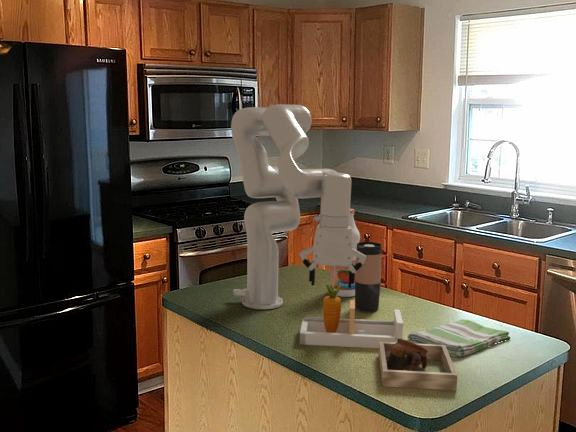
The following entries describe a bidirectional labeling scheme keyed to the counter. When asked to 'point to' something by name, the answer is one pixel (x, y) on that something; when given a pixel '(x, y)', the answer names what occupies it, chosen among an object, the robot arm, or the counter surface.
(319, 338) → the frame
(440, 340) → the dish towel
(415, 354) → the pottery mug
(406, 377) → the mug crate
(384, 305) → the counter surface
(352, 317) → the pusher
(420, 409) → the counter surface
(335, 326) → the carrot
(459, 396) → the counter surface
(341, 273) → the fruit juice
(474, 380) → the counter surface
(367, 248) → the travel mug
